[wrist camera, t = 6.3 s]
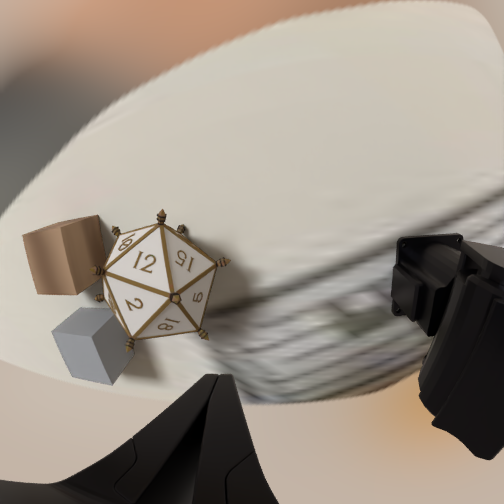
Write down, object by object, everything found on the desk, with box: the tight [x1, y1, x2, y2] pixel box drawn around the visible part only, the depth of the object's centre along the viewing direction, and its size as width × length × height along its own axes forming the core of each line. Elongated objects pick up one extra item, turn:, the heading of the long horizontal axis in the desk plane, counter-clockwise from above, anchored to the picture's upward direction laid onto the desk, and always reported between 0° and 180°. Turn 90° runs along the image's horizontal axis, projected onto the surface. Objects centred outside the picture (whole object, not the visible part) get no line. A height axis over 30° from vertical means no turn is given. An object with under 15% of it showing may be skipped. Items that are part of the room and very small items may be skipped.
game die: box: [89, 209, 231, 353], centre depth 17 cm, size 9×8×10 cm
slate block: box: [51, 307, 134, 386], centre depth 21 cm, size 5×5×5 cm
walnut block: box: [22, 215, 107, 295], centre depth 19 cm, size 5×5×5 cm
